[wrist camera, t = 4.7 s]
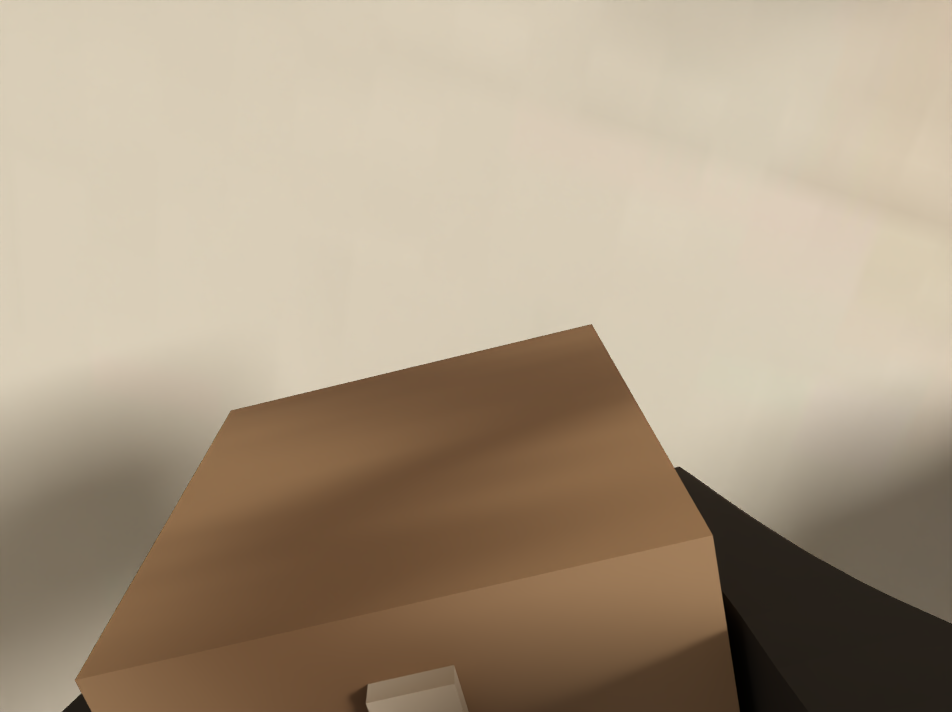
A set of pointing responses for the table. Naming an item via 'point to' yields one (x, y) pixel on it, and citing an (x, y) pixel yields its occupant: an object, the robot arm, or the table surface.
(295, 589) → the letter cube
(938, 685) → the robot arm
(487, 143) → the table surface
